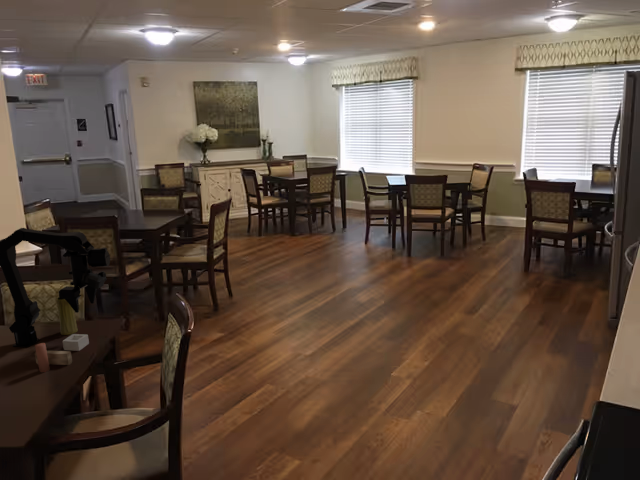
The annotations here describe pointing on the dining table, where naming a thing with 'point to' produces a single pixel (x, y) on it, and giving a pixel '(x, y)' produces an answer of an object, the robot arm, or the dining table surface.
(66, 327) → the olive ribbed cylinder
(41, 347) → the peg
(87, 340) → the socket block
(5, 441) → the dining table surface
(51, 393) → the dining table surface
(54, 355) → the backstop
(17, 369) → the dining table surface
